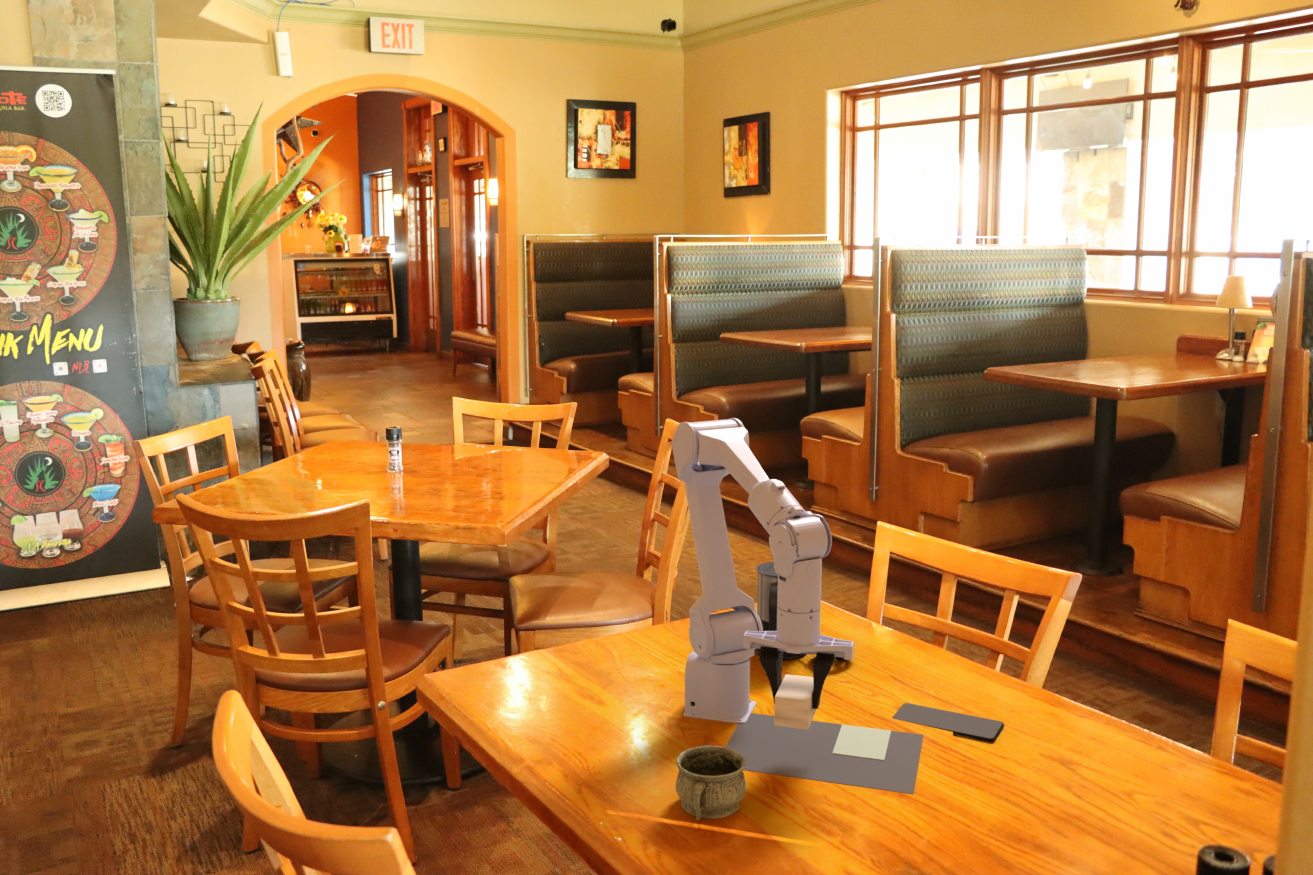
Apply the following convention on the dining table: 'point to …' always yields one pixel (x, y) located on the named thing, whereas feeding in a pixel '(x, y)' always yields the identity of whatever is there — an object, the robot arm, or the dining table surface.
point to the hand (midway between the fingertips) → (796, 703)
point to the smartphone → (951, 722)
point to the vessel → (710, 781)
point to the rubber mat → (830, 753)
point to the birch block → (794, 702)
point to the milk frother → (770, 602)
